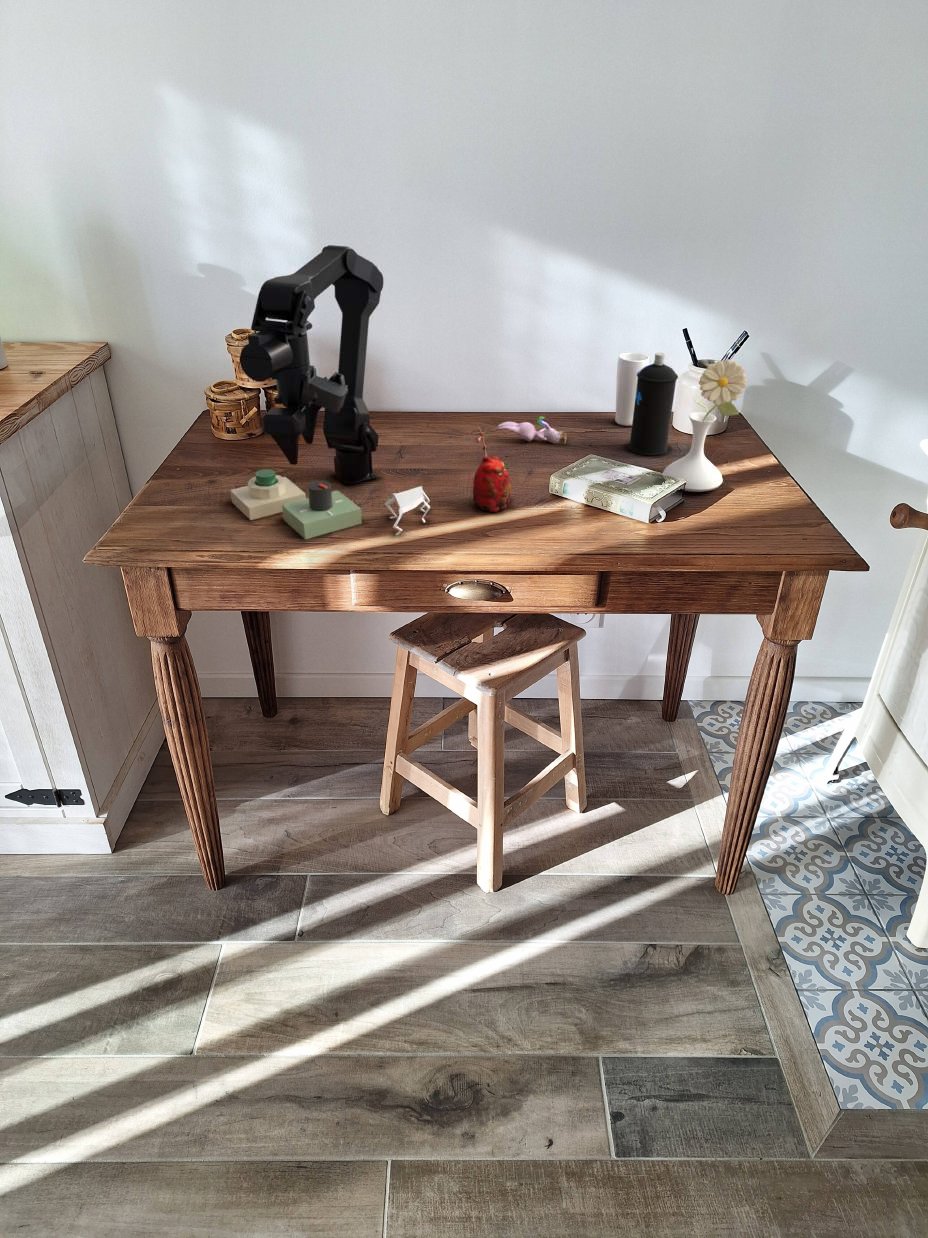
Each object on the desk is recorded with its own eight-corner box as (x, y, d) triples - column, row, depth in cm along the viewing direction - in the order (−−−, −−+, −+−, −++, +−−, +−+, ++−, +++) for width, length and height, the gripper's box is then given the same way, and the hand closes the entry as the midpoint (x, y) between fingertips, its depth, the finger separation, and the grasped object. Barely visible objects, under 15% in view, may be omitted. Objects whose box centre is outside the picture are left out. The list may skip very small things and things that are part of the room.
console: (338, 505, 157) (337, 489, 155) (361, 523, 151) (360, 507, 149) (283, 519, 152) (281, 503, 150) (305, 539, 145) (303, 523, 144)
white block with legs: (387, 508, 156) (385, 483, 153) (432, 509, 155) (432, 484, 153) (378, 539, 146) (377, 513, 143) (427, 540, 145) (426, 514, 143)
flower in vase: (649, 485, 165) (667, 356, 151) (680, 468, 172) (700, 343, 158) (710, 505, 158) (734, 371, 144) (739, 487, 165) (765, 357, 151)
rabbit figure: (563, 442, 187) (496, 429, 186) (570, 416, 184) (502, 403, 183) (564, 453, 182) (495, 440, 181) (570, 427, 178) (500, 413, 178)
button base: (286, 488, 163) (284, 466, 160) (306, 505, 157) (304, 483, 154) (231, 502, 158) (228, 479, 155) (250, 520, 151) (247, 497, 149)
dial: (304, 506, 149) (302, 483, 147) (322, 499, 152) (320, 476, 149) (319, 513, 147) (317, 490, 145) (337, 505, 150) (335, 483, 147)
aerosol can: (673, 446, 182) (687, 352, 171) (658, 459, 176) (672, 362, 165) (637, 438, 185) (648, 345, 175) (622, 450, 180) (632, 355, 169)
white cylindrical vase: (611, 426, 191) (618, 360, 183) (611, 416, 197) (618, 351, 189) (641, 428, 190) (650, 361, 182) (641, 418, 196) (649, 352, 188)
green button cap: (271, 477, 157) (270, 467, 156) (279, 484, 154) (278, 474, 153) (253, 482, 155) (251, 471, 154) (261, 489, 153) (259, 478, 152)
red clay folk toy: (503, 516, 153) (506, 437, 145) (466, 511, 155) (467, 432, 147) (514, 499, 159) (517, 422, 151) (478, 494, 161) (479, 417, 153)
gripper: (325, 383, 129) (333, 478, 138) (354, 348, 144) (360, 436, 153) (254, 380, 130) (267, 474, 139) (290, 345, 146) (300, 432, 154)
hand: (301, 453), depth 146 cm, fingers open, 9 cm apart
